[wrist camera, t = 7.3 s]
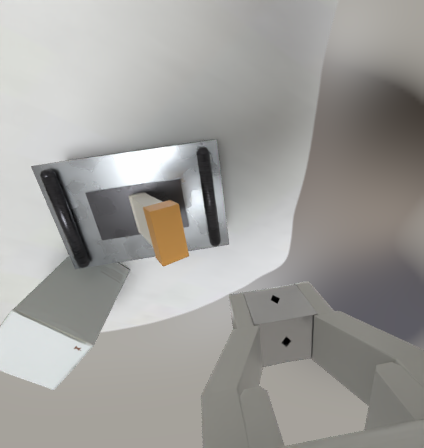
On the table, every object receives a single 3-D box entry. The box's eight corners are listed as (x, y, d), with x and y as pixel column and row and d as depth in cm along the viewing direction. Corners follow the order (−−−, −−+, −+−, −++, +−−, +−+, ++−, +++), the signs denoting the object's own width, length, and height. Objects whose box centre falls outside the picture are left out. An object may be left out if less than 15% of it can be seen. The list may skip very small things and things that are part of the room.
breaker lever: (124, 193, 20) (149, 212, 14) (145, 188, 21) (178, 203, 15) (135, 232, 22) (163, 266, 15) (154, 226, 23) (189, 256, 16)
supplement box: (83, 239, 29) (11, 308, 17) (131, 269, 31) (95, 348, 19) (55, 276, 31) (-30, 362, 19) (102, 302, 33) (53, 393, 21)
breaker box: (66, 160, 25) (21, 167, 19) (211, 139, 26) (218, 139, 19) (97, 244, 29) (69, 275, 23) (221, 225, 30) (230, 249, 23)
